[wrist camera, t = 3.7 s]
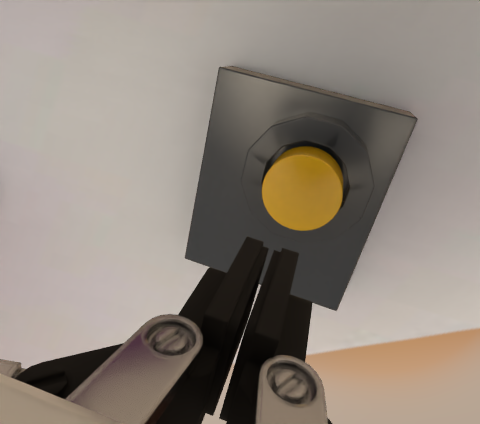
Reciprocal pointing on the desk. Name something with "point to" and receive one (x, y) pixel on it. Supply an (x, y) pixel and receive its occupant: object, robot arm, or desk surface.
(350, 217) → the console
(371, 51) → the desk surface
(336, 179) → the button
